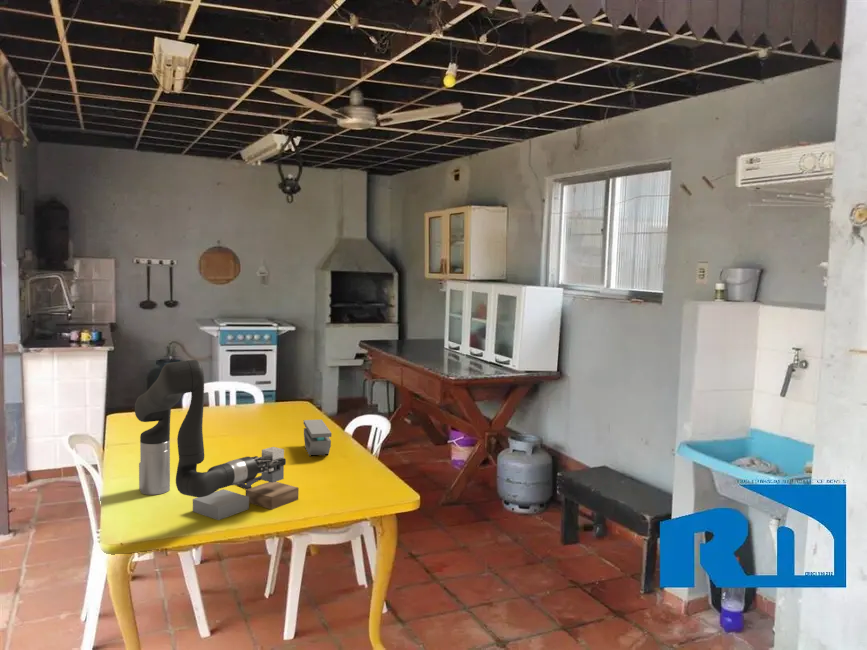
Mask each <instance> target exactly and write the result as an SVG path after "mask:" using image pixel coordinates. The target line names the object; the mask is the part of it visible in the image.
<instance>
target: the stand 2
mask: <svg viewBox="0 0 867 650" xmlns="http://www.w3.org/2000/svg"><path fill="white" fill-rule="evenodd" d="M251 487H252V486H251ZM299 488H300V487H297V486H294V485H289V484H287V483H282V482H278V481H276V482H273V483H272V482H268V481H266V482H264V483H262V484H260V485H258V484H257V485H256V486H253V487H252V488H248V489H245V496H248V497H249V504H252V505H256V506H259V507H262V508H265V509H268V510H275V509H277V508H279V507H283V506H285V505H287V504H290V503H292V502H295V501H298V500H299Z"/></svg>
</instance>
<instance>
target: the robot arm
mask: <svg viewBox="0 0 867 650" xmlns="http://www.w3.org/2000/svg"><path fill="white" fill-rule="evenodd" d="M188 393H189V394H190V393H191V397H190V405H189V408H188V410H187V413H186V414H185V416H184V419H183V420H182V423H181V425H180V426H179V429H178V432H177V433H178V434H177V440H176V441H177V451H178V463H177V469H176V473H175V475H176V476H175V486H176V488H177V490H178V492H179V493H180V494H181V495H184V496H188V497H193V498H198V497H205V496H208V495H210V494H212V493H214V492H216V491H219V490H222V489H225V488H227V487H231V486H238V485H237V484H240V483H243V482H247V481H250V480H253V479H254V478H256V477H258V476H257V475H258V474H262V473H263V472H267V471H268V474H272V473H274V472H276V471H279V470H281V466H286V465H287V461H286V460H287V459H286V457H284V458H282V459H279V460H275V461H271V460H264V461H262V456H259V457H258V456H257V455H254V456H244V457H240V458H237V459H232V460H229V461H227V462H224V463H221V464H217V465H214V466H212V467H209V468H208V469H207V471H203V472H202V471H198V470H197V467H198V465H199V464H201V463H202V462H204V460H205V444H204V434H203V424H204V423H203V421H204V420H203V417H204V400H205V373H204V370H203V366H202V364H201V362H200V361H199V360H198V359H189V360H180V361H171V362H169V363H166V364H164V366H163V367H162V368H161V370H160V373H159V375H158V377H157V379H156V380H155V381H154V382H153V383H152V384H151V385H150V387H149V388H148V389H147V390H146V391H145V392H144V393H142V394H140V395H139V396H138V397H137V398H136V400H135V404H134V414H135V418H136V419H137V420H138V421H140V422H142V423H151V422H157V423H156V424H155V425H154V426H152V427H151V428H148V429H146V430H144V431H143V432H141V433H140V436H139V440H140V441H139V443H140V449H139V450H140V451H139V452H140V455H139V456H140V461H139V463H138V487H139V488H138V490H139V491H140V494H143V495H160V494H165V493H168V492H169V491H170V490H171V488H170V487H171V451H170V450H171V448H170V447H171V439H170V438H171V437H170V436H171V433H170V432H171V412H172V408H173V407H175V405H176V404H177V403H179V401H180V400H181V397H182V395H183V394H188ZM267 463H268V467H267ZM272 463H273V464H272Z"/></svg>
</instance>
